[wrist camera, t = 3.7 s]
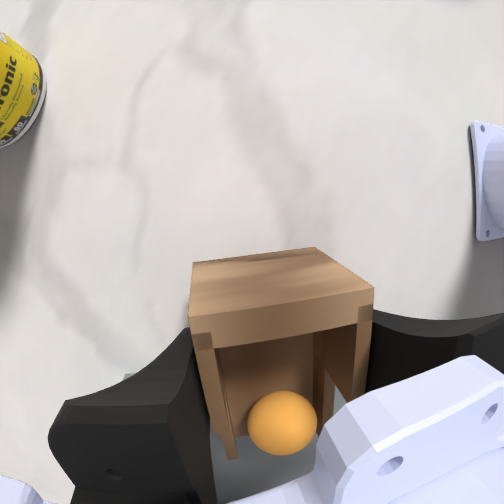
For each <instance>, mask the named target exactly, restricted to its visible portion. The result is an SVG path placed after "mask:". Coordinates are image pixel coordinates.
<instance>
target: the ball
mask: <svg viewBox="0 0 504 504" xmlns="http://www.w3.org/2000/svg"><path fill="white" fill-rule="evenodd" d="M247 427H248V432H249V435H250V437H251V439H252V441H253V442H254V443H255V445H256V446H257V447H259V448H260V449H261V450H263V451H265V452H267V453H270V454H273V455H289V454H293V453H296V452H298V451H300V450H302V449H303V448H304V447H306V446H307V445H308V444H309V442H310V441H311V440H312V438H313V437H314V435H315V432H316V428H317V416H316V413H315V410H314V408H313V406H312V405H311V403H310V402H309V401H308V400H307V399H306V398H304V397H303V396H301V395H299V394H297V393H295V392H291V391H275V392H271V393H269V394H267V395H265V396H263V397H261V398H260V399H259V400H258V401H257V402H256V403H255V404H254V405H253V407H252V408H251V410H250V412H249V415H248V420H247Z"/></svg>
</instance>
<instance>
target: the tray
mask: <svg viewBox="0 0 504 504" xmlns="http://www.w3.org/2000/svg"><path fill="white" fill-rule="evenodd" d="M132 375H134V374H125V377H124V379H123V380H125V379H127V378H129V377H131V376H132ZM346 403H347V402H346V401H345V399H344V398H343V396H342V394H341V393H340V391H339V390H338V388H337V387H336V385H335V397H334V410H333V416H334V415H335V414H336V413H337V412H338V411H339V410H340V409H341V408H342V407H343V406H344V405H345V404H346ZM318 439H319V437H318V435H317V433H316V432H315V435H314V437H313V438H312V440H311V441H310V442H309V444H308V445H307V446H306V447H304V448H303V449H302V450H300V451H298V452H296V453H293V454H289V455H273V454H270V453H267V452H265V451H263V450H261V449H260V448H259V447H257V446H256V445H255V443H254V442H253V441H252V439H251V437H250V435H248V436H241V437H235V442H236V448H237V454H238V459H233V460H228V459H227V456H226V452H225V448H224V444H223V440H222V436H221V434H216V435H214V431H213V427H212V423H211V419H210V448H211V457H212V466H213V473H214V481H215V488H216V495H217V501H218V504H226V503H230V502H233V501H236V500H240V499H243V498H246V497H249V496H252V495H255V494H258V493H261V492H264V491H267V490H269V489H272V488H275V487H277V486H280V485H282V484H285V483H288V482H290V481H292V480H295V479H297V478H300V477H302V476H304V475H307V474H309V473H310V472H312V471H313V469H314V465H315V460H316V444H317V441H318Z"/></svg>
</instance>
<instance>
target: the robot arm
mask: <svg viewBox="0 0 504 504" xmlns="http://www.w3.org/2000/svg"><path fill="white" fill-rule="evenodd" d="M470 128H471V136H472V144H473V154H474V166H475V181H476V237H477V240H478V241H489V240H494V239H499V238H504V127H502V126H498V125H494V124H489V123H485V122H481V121H472V122H471V125H470ZM48 443H49V447H50V449H51V451H52V453H53V455H54V457H55V458H56V460H57V461H58V463H59V464H60V466H61V467H62V469H63V470H64V471H65V473H66V474H67V476H68V477H69V478H70V480H71V481H72V482H73V484H74V485H75V486H76V487H75V490H74V493H73V496H72V500H71V503H70V504H218V501H217V495H216V488H215V481H214V473H213V466H212V457H211V448H210V415H209V411H208V407H207V403H206V399H205V395H204V391H203V386H202V382H201V377H200V373H199V369H198V364H197V359H196V355H195V350H194V345H193V340H192V335H191V330H190V328H184V329H183V330H182V332H181V333H180V334H179V335H178V336H177V337H176V339H175V340H174V341H173V342H172V343H171V344H170V345H169V346H168V347H167V348H166V349H165V350H164V351H163V352H162V353H161V354H160V355H159V356H158V357H157V358H156V359H155V360H154V361H152V362H151V363H150V364H149V365H147V366H146V367H145V368H143V369H142V370H140V371H139V372H137V373H136V374H134V375H132V376H131V377H129V378H127V379H125V380H123V381H122V382H120V383H118V384H116V385H113V386H111V387H109V388H106V389H104V390H101V391H98V392H96V393H93V394H89V395H85V396H82V397H78V398H74V399H69V400H65V402H64V404H63V406H62V407H61V409H60V411H59V413H58V415H57V417H56V419H55V420H54V422H53V424H52V426H51V428H50V430H49V434H48ZM0 504H56V503H51V502H47V501H43V500H42V498H41V497H40V495H39V494H38V493H37V492H36V490H34V489H33V488H32V487H31V486H30V485H28V484H27V483H25V482H22V481H19V480H15V479H12V478H8V477H5V476H2V475H0ZM226 504H504V313H500V314H496V315H491V316H486V317H480V318H473V319H463V320H428V319H418V318H410V317H405V316H400V315H395V314H390V313H386V312H382V311H378V310H374V309H373V318H372V331H371V342H370V352H369V362H368V370H367V378H366V386H365V393H364V395H362V396H360V397H358V398H356V399H354V400H352V401H350V402H348V403H346V404H345V405H344V406H343V407H342V408H341V409H340V410H339V411H338V412H337V413H336V414H335V415H334V416H333V417H332V418H330V419H329V420H328V421H327V422H326V423H325V424H324V427H323V429H322V432H321V434H320V436H319V439H318V441H317V444H316V460H315V465H314V469H313V471H312V472H310V473H309V474H307V475H304V476H302V477H300V478H297V479H295V480H292V481H290V482H288V483H285V484H282V485H280V486H277V487H275V488H272V489H269V490H267V491H264V492H261V493H258V494H255V495H252V496H249V497H246V498H243V499H240V500H236V501H233V502H230V503H226Z"/></svg>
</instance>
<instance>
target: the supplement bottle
mask: <svg viewBox="0 0 504 504" xmlns="http://www.w3.org/2000/svg"><path fill="white" fill-rule="evenodd" d="M45 92H46V76H45V72H44V69H43V67H42V65H41V63H40V62H39V61H38V60H37V59H36V58H35V57H34V56H33V55H31V54H30V53H29V52H28V51H26V50H25V49H24V48H22V47H21V46H20V45H19V44H17V43H16V42H15V41H13V40H12V39H11V38H9V37H8V36H7V35H5V34H4V33H3V32H1V31H0V148H2V147H6V146H8V145H10V144H12V143H14V142H15V141H17V140H18V139H19V138H20V137H22V136H23V135H24V134H25V132H26V131H27V130H28V129H29V128H30V126H31V125H32V123H33V122H34V120H35V119H36V117H37V115H38V113H39V111H40V109H41V106H42V103H43V100H44V97H45Z"/></svg>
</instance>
